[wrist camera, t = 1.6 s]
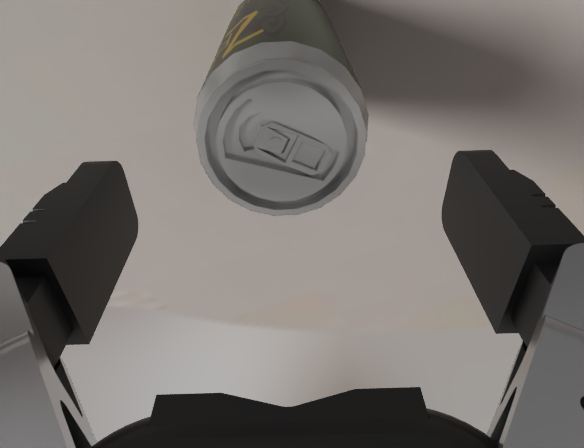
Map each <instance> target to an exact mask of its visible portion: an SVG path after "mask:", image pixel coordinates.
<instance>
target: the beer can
mask: <svg viewBox="0 0 584 448" xmlns="http://www.w3.org/2000/svg"><path fill="white" fill-rule="evenodd" d="M194 129H195V134H196V142H197V147H198V152H199V157H200V162H201V165H202V166H203V168H204V170H205V172H206V173H207V175H208V177H209V179H210V180H211V182H212V184H213V185H214V186H215V187H216V188H217V189H218V190H220V191H221V192H222V193H223V194H224V195H225V196H226V197H227V198H228V199H229V200H231V201H232V202H234V203H236V204H238V205H240V206H242V207H244V208H246V209H248V210H250V211H254V212H258V213H263V214H268V215H272V216H282V215H299V214H302V213H305V212H308V211H311V210H315V209H318V208H321V207H322V206H324V205H325V204H327V203H328V202H330V201H331V200H333V199H335V198H336V197H338V196H339V195H340V194H341V193H342V192H343V191H344V190H345V189H346V187H347V186H348V185H349V184H350V183H351V182H352V180H353V179H354V178H355V177H356V175H357V172H358V170H359V167H360V165H361V163H362V160H363V158H364V156H365V144H366V141H367V129H368V112H367V108H366V105H365V101H364V97H363V94H362V90H361V88H360V86H359V83H358V81H357V79H356V77H355V74H354V72H353V70H352V68H351V65H350V63H349V61H348V59H347V56H346V54H345V52H344V50H343V48H342V45H341V43H340V41H339V39H338V36H337V34H336V32H335V30H334V27H333V25H332V23H331V21H330V18H329V16H328V15H327V14H326V12H325V11H324V9H323V8H322V6H321V5H320V3H319V2H318V1H317V0H245V1H244V2H243V3H242V4H240V5H239V7H238V9H237V10H236V12H235V14H234V16H233V18H232V20H231V22H230V24H229V26H228V29H227V31H226V33H225V36H224V38H223V40H222V42H221V45H220V47H219V49H218V52H217V54H216V56H215V59H214V61H213V63H212V66H211V68H210V70H209V72H208V75H207V77H206V79H205V82H204V84H203V86H202V89H201V91H200V93H199V96H198V98H197V105H196V111H195V118H194Z"/></svg>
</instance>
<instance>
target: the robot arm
mask: <svg viewBox="0 0 584 448" xmlns="http://www.w3.org/2000/svg"><path fill="white" fill-rule="evenodd" d="M555 206H556V205H555V204H554V203H553V202H552V201H551V200H550V199H549V198H548V197H545V193H544V192H543V191H542V190H541V189H540V188H539V187H538V186H537V185H536V183H535V182H534V181H532V180H531V179H529V178H527V177H525V176H524V175H522V174H520V173H518V172H517V171H515V170H509V169H508V167H507V166H506V165H505V164H504V163H503V162H502V161H501V159H500V158H499V157H498V156H497V155H496V154H495V153H494V152H493V151H492V150H476V151H458V152H457V153H456V154H455V156H454V158H453V161H452V165H451V170H450V174H449V179H448V183H447V188H446V192H445V197H444V201H443V206H442V223H443V228H444V231H445V233H446V235H447V237H448V239H449V241H450V243H451V245H452V247H453V249H454V251H455V253H456V255H457V257H458V259H459V261H460V263H461V265H462V267H463V269H464V271H465V273H466V275H467V277H468V279H469V281H470V283H471V285H472V287H473V289H474V291H475V293H476V295H477V297H478V299H479V301H480V303H481V305H482V307H483V309H484V311H485V313H486V315H487V317H488V319H489V321H490V323H491V325H492V327H493V329H494V331H495V333H497V334H498V333H519V334H520V336H521V338H522V340H523V341H522V344H521V346H520V348H519V350H518V352H517V355H516V358H515V361H514V364H513V366H512V369H511V371H510V374H509V377H508V380H507V382H506V385H505V388H504V391H503V393H502V396H501V399H500V402H499V404H498V407H497V410H496V412H495V415H494V417H493V420H492V422H491V425H490V428H489V430H488V432H487V434H485V433H483V432H482V431H480V430H478V429H476V428H475V427H473V426H471V425H469V424H468V423H466V422H463V421H461V420H459V419H457V418H455V417H452V416H450V415H447V414H444V413H441V412H438V411H435V410H431V409H427V408H426V406H425V402H424V399H423V396H422V392H421V389H420V387H415V388H414V387H411V388H377V389H354V390H350V391H347V392H344V393H340V394H336V395H333V396H329V397H326V398H323V399H319V400H315V401H311V402H308V403H304V404H301V405H297V406H293V407H282V406H277V405H273V404H268V403H263V402H259V401H255V400H250V399H245V398H241V397H237V396H232V395H228V394H223V393H205V394H172V395H171V394H170V395H156V399H155V403H154V407H153V411H152V414H151V417H148V418H144V419H142V420H139V421H137V422H134V423H132V424H129V425H127V426H125V427H123V428H121V429H119V430H117V431H115V432H113V433H111V434H110V435H108V436H107V437H105V438H103V439H102V440H100V441H99V442H97V440H96V438H95V436H94V434H93V432H92V429H91V427H90V425H89V422H88V420H87V417H86V415H85V413H84V410H83V408H82V405H81V403H80V400H79V398H78V395H77V393H76V391H75V388H74V386H73V383H72V381H71V378H70V376H69V373H68V371H67V368H66V366H65V364H64V362H63V360H62V359H61V357H60V356H61V354H62V352H63V350H64V348H65V346H66V345H70V344H71V345H74V344H89V343H90V341H91V339H92V336H93V334H94V332H95V330H96V327H97V325H98V323H99V321H100V319H101V316H102V314H103V312H104V310H105V308H106V305H107V303H108V301H109V299H110V296H111V294H112V292H113V290H114V287H115V285H116V283H117V281H118V279H119V276H120V274H121V272H122V270H123V267H124V265H125V263H126V261H127V258H128V256H129V254H130V252H131V250H132V247H133V245H134V243H135V241H136V238H137V234H138V219H137V214H136V210H135V207H134V204H133V200H132V197H131V194H130V190H129V187H128V184H127V180H126V177H125V174H124V171H123V168H122V166H121V164H120V163H119V162H117V161H97V162H83V163H82V164H81V165H80V166H79V168H78V169H77V170H76V171H75V173H74V174H73V175H72V176H71V178H70V179H69V180H68V181H67V183H62V184H61V185H59V186H57V187H56V188H54V189H53V190H51V191H50V192H48V193H47V194H45V195H44V196H43V197H42V198H41V199H40V201H39V202H38V203H37V204H36V205H35V207H34V208H33V212H30V213H29V214H28V215H27V216H26V217H25V218H24V220H23V223H20V224H19V226H18V227H17V228H16V229H15V230H14V232H13V233H12V234H11V235H10V236H9V237H8V239H7V240H6V241H5V242H4V243H3V245H2V246H1V247H0V448H584V236H583V234H582V233H581V232H580V231H579V230H578V229H577V228H576V227H575V226H574V225H573V224H572V223H571V221H570V220H569V219H568V218H567V217H566V216H565V215H564V214H563V213H562V212H561V211H560V210H559V208H555Z"/></svg>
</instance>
